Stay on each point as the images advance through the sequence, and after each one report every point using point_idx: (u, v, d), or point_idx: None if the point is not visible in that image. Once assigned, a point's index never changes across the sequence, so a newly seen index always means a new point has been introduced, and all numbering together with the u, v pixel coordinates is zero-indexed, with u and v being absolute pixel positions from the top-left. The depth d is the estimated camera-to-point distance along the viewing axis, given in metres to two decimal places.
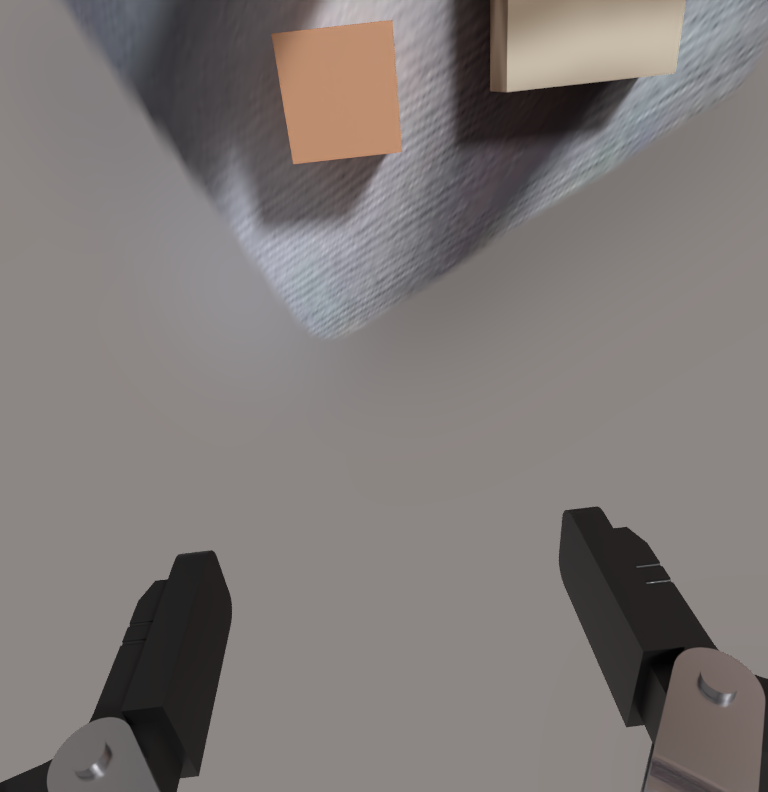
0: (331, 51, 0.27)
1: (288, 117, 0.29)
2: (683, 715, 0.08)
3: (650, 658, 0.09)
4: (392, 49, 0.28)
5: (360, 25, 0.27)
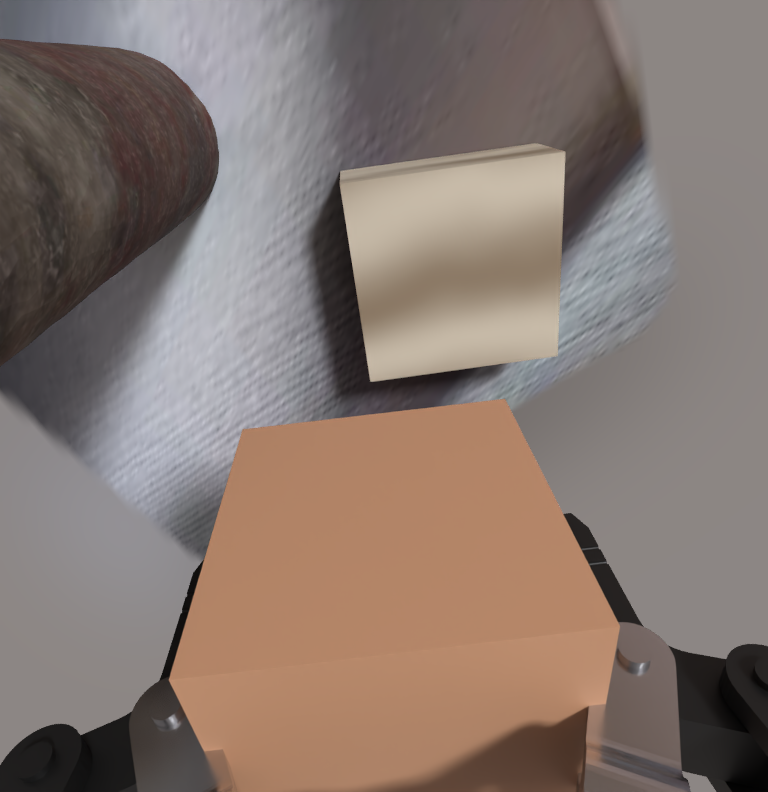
0: (388, 698, 0.08)
1: None
2: None
3: None
4: (603, 682, 0.08)
5: (501, 645, 0.07)
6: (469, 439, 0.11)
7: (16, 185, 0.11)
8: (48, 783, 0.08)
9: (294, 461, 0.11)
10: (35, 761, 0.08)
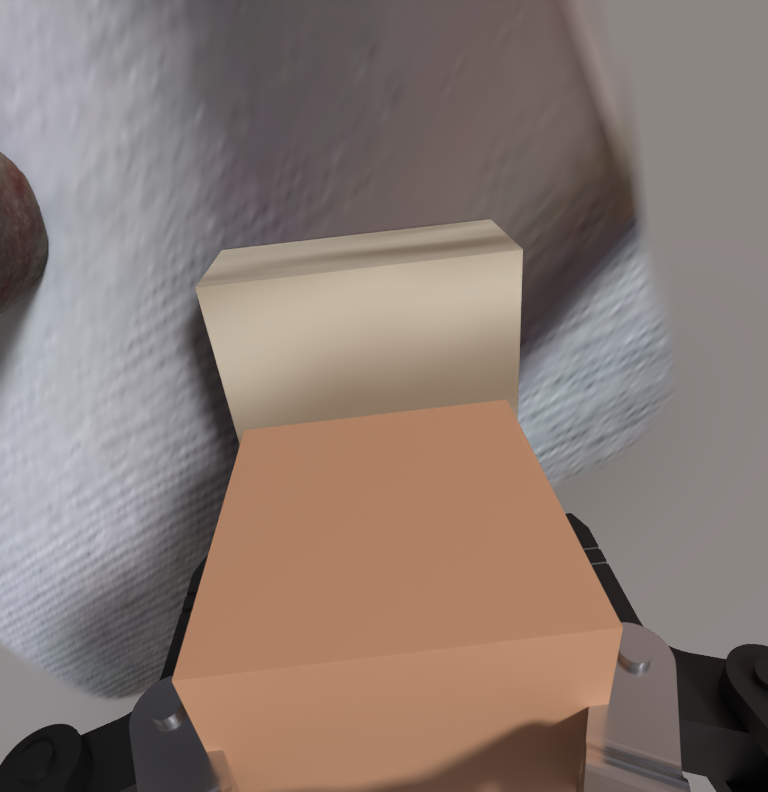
0: (391, 699, 0.08)
1: None
2: None
3: None
4: (605, 683, 0.08)
5: (504, 646, 0.07)
6: (471, 439, 0.11)
7: None
8: (48, 783, 0.08)
9: (296, 462, 0.11)
10: (35, 762, 0.08)
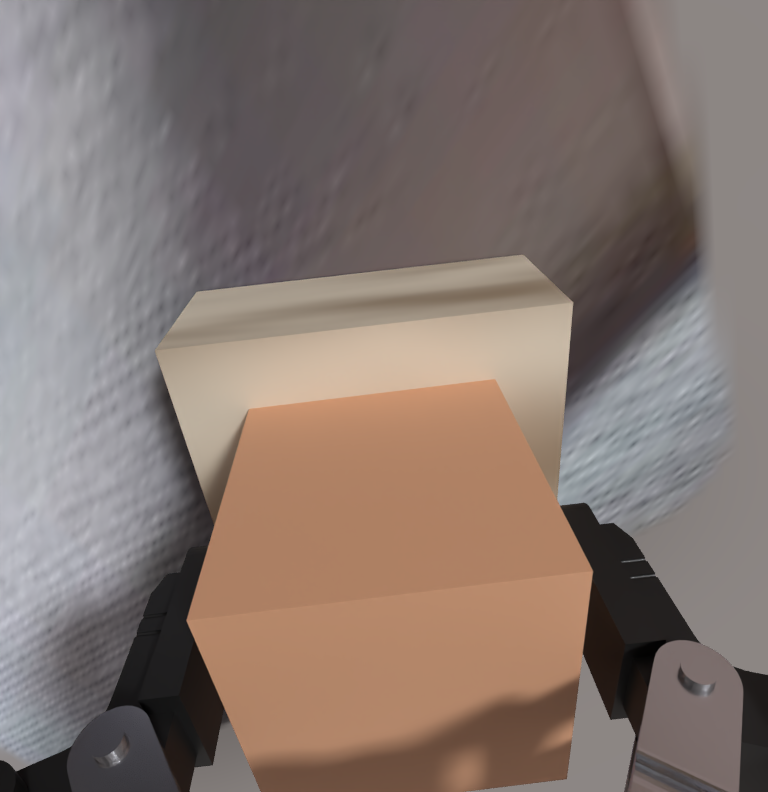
0: (384, 640, 0.08)
1: (254, 754, 0.10)
2: (662, 706, 0.08)
3: (632, 651, 0.09)
4: (579, 625, 0.09)
5: (485, 588, 0.08)
6: (461, 415, 0.12)
7: None
8: None
9: (297, 436, 0.12)
10: None
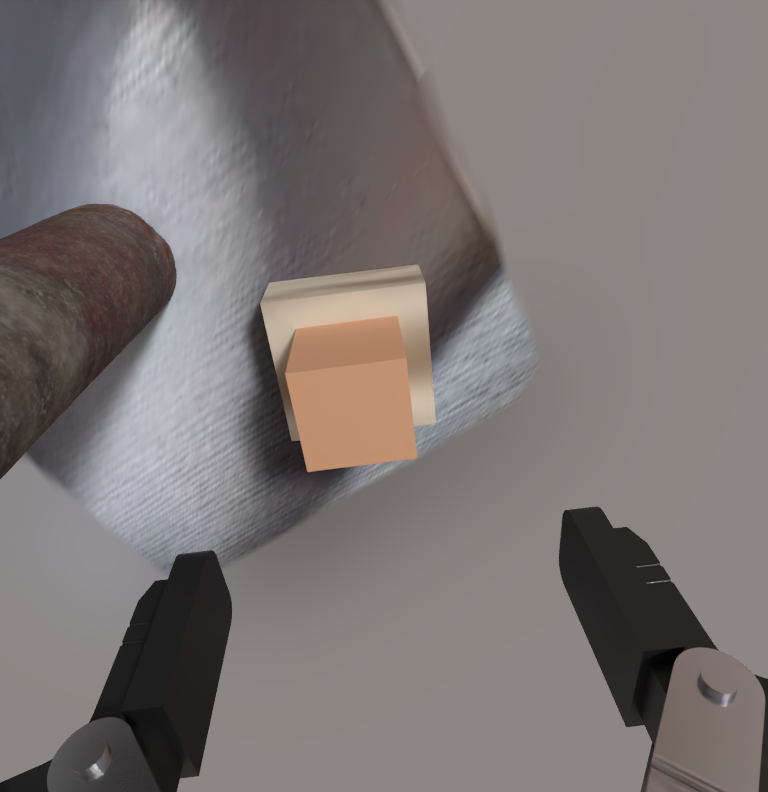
0: (345, 384, 0.27)
1: (302, 436, 0.28)
2: (683, 715, 0.08)
3: (650, 658, 0.09)
4: (406, 380, 0.27)
5: (374, 363, 0.27)
6: (380, 326, 0.31)
7: (23, 372, 0.19)
8: None
9: (316, 335, 0.31)
10: None
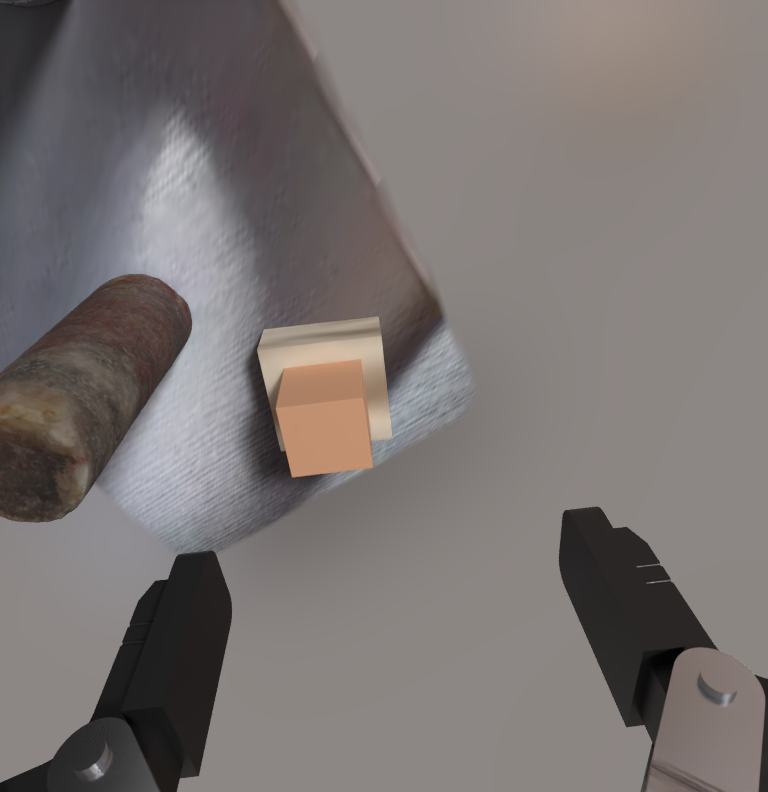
0: (319, 415, 0.38)
1: (288, 452, 0.39)
2: (683, 715, 0.08)
3: (650, 658, 0.09)
4: (363, 412, 0.38)
5: (340, 401, 0.37)
6: (347, 368, 0.41)
7: (106, 418, 0.29)
8: None
9: (299, 374, 0.41)
10: None
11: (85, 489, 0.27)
